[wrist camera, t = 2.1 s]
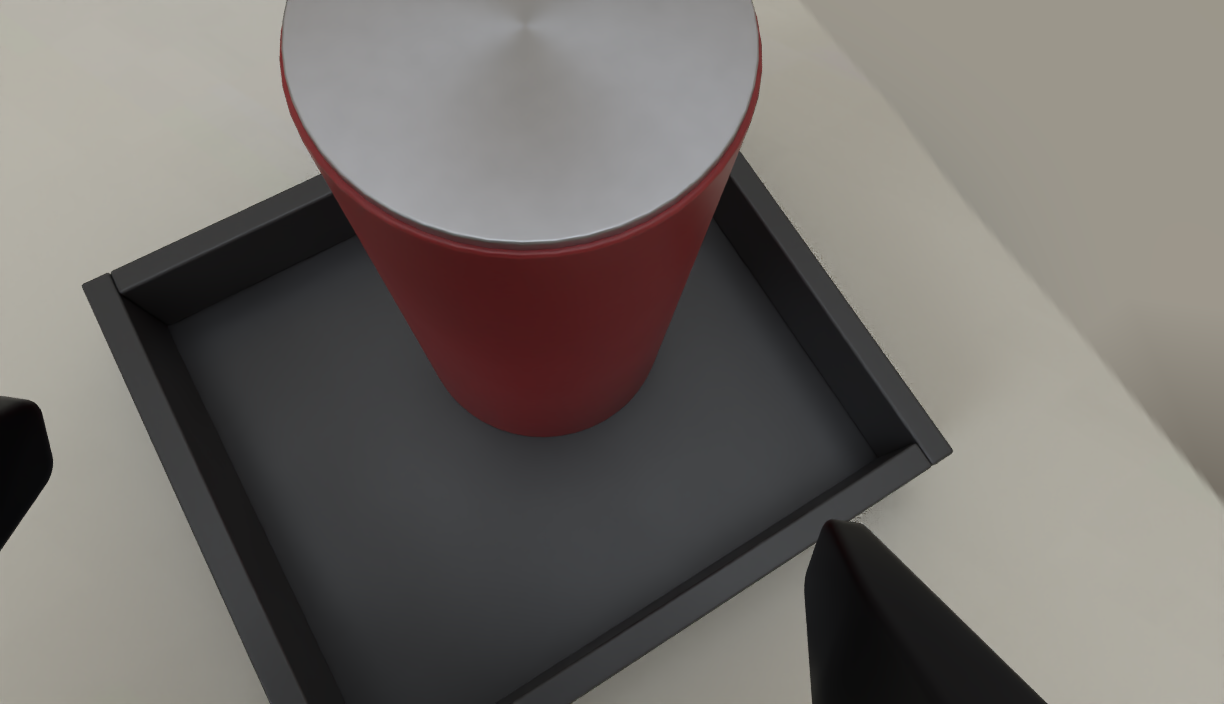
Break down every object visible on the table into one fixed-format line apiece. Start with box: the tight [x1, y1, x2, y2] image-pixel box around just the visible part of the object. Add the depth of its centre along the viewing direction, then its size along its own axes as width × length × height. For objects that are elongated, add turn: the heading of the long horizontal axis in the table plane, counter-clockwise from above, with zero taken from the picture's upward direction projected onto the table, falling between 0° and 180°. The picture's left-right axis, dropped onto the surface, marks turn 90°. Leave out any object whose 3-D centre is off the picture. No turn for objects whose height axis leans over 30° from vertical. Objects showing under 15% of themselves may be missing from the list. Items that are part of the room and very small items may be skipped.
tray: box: [82, 151, 953, 704], centre depth 21 cm, size 16×14×3 cm
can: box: [280, 0, 762, 437], centre depth 16 cm, size 7×7×12 cm
